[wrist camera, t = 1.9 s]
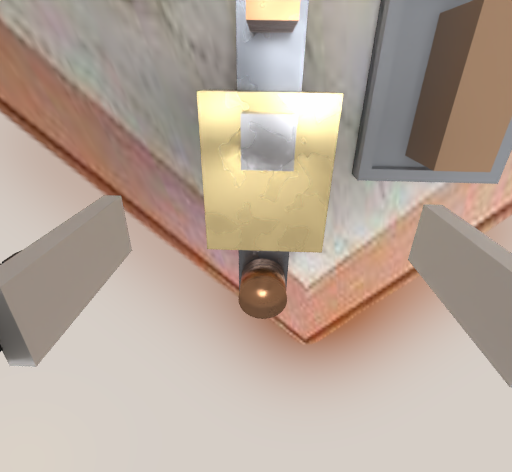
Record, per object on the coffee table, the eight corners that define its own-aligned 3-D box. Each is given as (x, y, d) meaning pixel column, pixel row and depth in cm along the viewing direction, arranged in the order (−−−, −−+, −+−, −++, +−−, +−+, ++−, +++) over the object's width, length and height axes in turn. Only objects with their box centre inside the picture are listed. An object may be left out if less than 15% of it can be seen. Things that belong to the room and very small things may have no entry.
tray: (384, -20, 21) (423, -53, 16) (556, -18, 21) (654, -51, 16) (351, 173, 28) (372, 195, 22) (482, 176, 28) (534, 200, 22)
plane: (244, -4, 22) (226, -71, 12) (298, -3, 22) (324, -70, 12) (244, 253, 32) (235, 329, 22) (281, 254, 32) (288, 331, 22)
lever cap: (204, 89, 19) (191, 91, 15) (334, 91, 18) (348, 94, 15) (213, 232, 23) (204, 258, 20) (316, 235, 23) (324, 261, 20)
